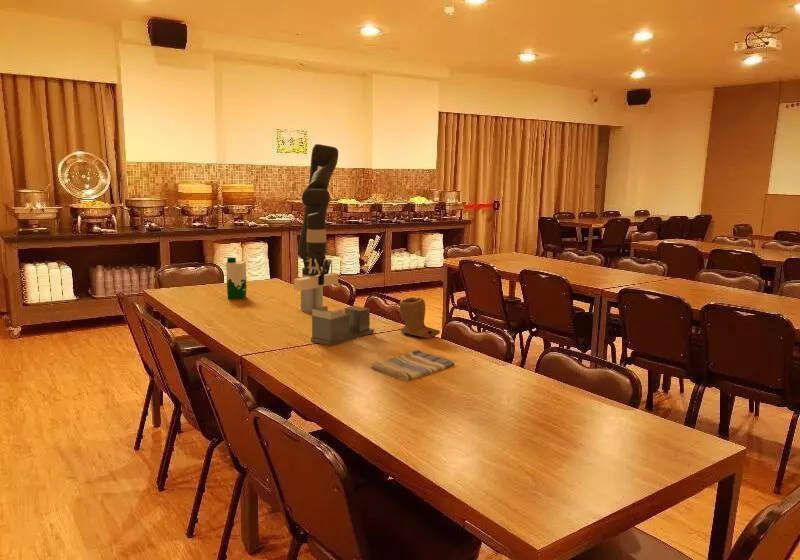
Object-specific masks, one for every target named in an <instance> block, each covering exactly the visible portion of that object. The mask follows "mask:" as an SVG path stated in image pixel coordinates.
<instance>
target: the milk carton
mask: <svg viewBox="0 0 800 560" xmlns="http://www.w3.org/2000/svg"><path fill="white" fill-rule="evenodd" d="M236 259H237V258H236V257H233V256H232V257H227V259H226V260H227V262H226V263H225V269H226V289H227V290H226V291H227V300H243V299H245V298H246V296H247V264H246V263H247V261H244V260H243V261H241V260H236Z"/></svg>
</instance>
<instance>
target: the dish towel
mask: <svg viewBox="0 0 800 560" xmlns="http://www.w3.org/2000/svg"><path fill="white" fill-rule="evenodd" d="M454 365H455V362H453V361H451V360H449V359H446V358H444V357H440V356H437V355H434V354H430V353H427V352H424V351H421V350H419V349H415V350H412V351H411V352H410V351H409V352H407V353H404V354H402V355H400V356H397V357H396V356H395V357H391V358H390V357H389V358H387V359H384V360H382V361H378V362H377V361H374V362H373V363H371V366H370V368H372V369H373V368H374V370H375V371H376V372H377V371H378V372H380V373H383V374H386V375H389V376H392V377H395V378H397V379H399V380H402V381H405V382H409V381H411V380H414V379H418V378H422V377H425V376H427V375H431V374H434V373H436V372H440V371H442V370H445V369H448V368H450V367H453V366H454Z"/></svg>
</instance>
